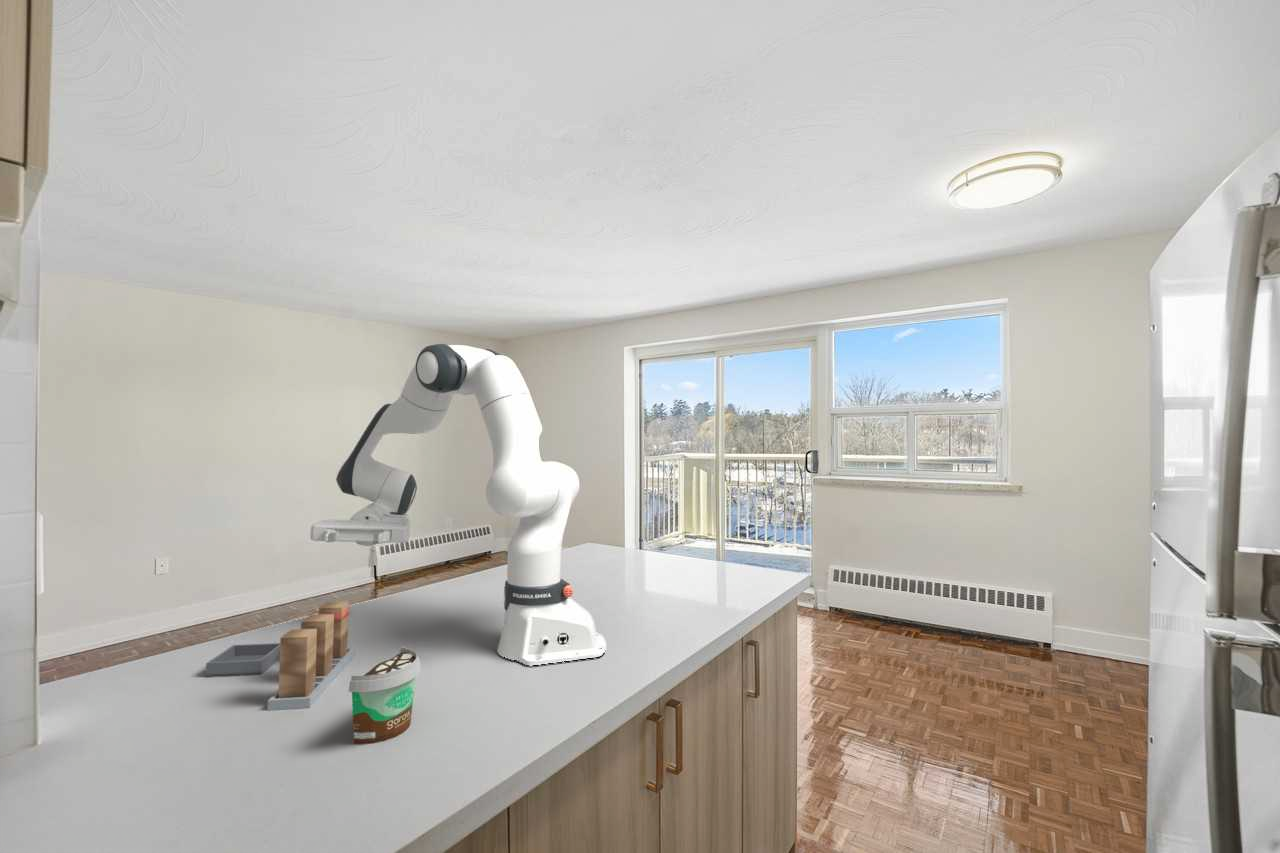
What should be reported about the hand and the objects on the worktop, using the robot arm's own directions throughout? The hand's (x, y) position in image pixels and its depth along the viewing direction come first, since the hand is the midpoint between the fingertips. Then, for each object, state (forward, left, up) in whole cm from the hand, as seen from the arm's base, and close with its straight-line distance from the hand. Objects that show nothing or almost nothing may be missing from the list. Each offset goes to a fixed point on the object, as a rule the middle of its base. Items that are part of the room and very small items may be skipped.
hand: (353, 538), depth 120 cm
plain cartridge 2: (0, +19, -22) cm, 29 cm away
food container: (-18, +39, -22) cm, 49 cm away
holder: (0, +19, -22) cm, 29 cm away
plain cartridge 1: (0, +27, -22) cm, 35 cm away
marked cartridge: (0, +11, -22) cm, 25 cm away
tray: (+15, +11, -22) cm, 28 cm away
